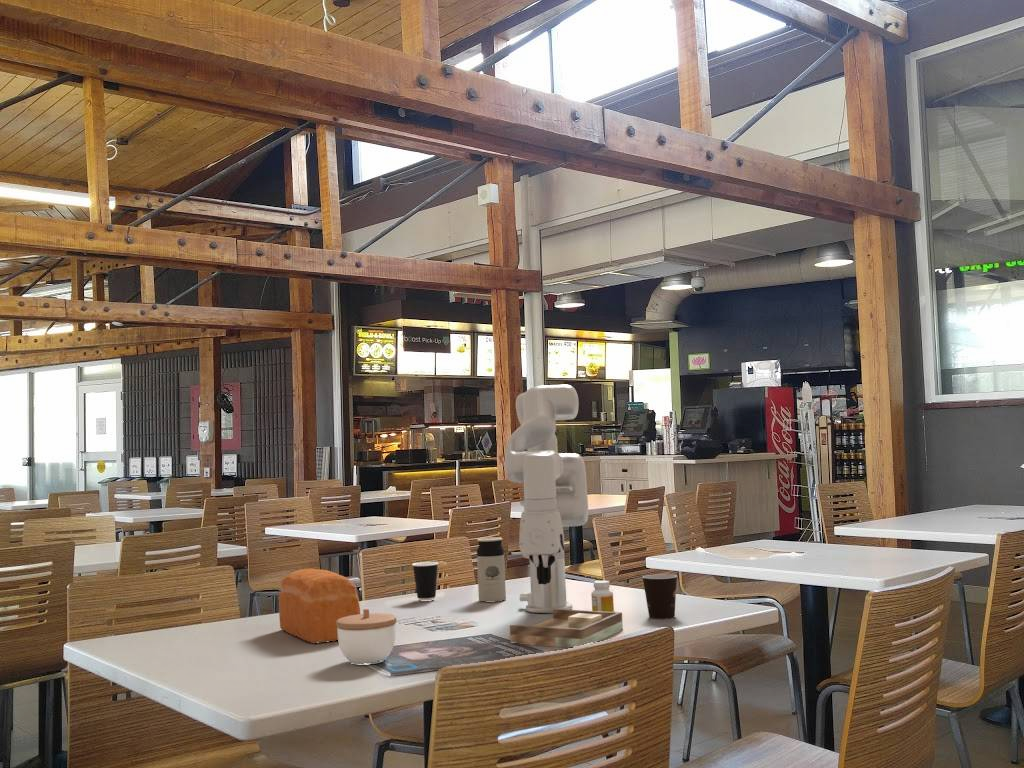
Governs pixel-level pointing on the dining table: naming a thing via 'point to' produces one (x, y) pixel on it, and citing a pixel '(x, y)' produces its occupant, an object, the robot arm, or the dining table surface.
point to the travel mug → (491, 569)
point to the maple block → (582, 620)
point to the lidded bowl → (366, 636)
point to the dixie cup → (425, 579)
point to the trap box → (567, 630)
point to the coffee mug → (660, 595)
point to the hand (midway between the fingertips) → (544, 583)
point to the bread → (316, 604)
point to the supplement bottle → (602, 597)
